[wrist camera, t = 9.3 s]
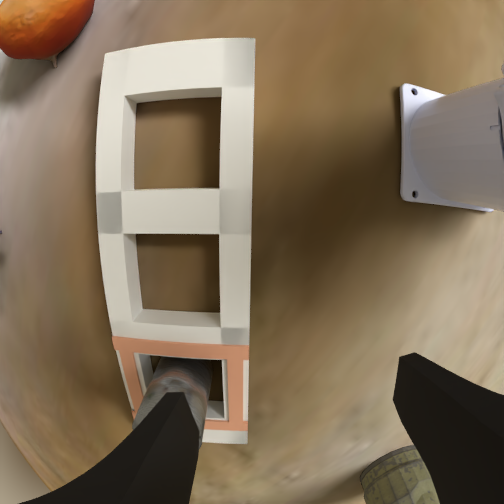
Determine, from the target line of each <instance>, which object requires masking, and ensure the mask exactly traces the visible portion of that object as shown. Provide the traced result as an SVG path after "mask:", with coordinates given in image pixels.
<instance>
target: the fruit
mask: <svg viewBox="0 0 504 504" xmlns="http://www.w3.org/2000/svg"><path fill="white" fill-rule="evenodd" d="M94 1H95V0H3V2H2V3H1V5H0V49H1V50H2V51H3V52H4V53H5V54H6V55H7V56H9V57H11V58H14V59H37V60H42V59H43V60H51V61H52V62H53V66H54V68H55V67H56V68H57V63H56V57H57V55H58V53H60V52H61V51H63V50H64V49H65V48H66V47H67V46H68V45H69V44H70V43H71V42H72V41H73V40H74V39H75V38H76V37H77V36H78V35H79V33H80V32H81V30H82V29H83V27H84V25H85V24H86V22H87V21H88V20H89V18H90V17H91V15H92V13H93V7H94Z"/></svg>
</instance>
